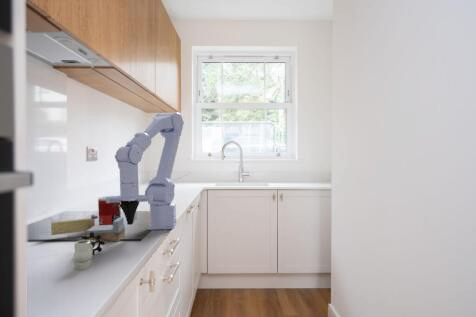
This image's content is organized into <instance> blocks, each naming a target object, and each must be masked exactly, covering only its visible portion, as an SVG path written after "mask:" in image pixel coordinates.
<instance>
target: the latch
mask: <svg viewBox="0 0 476 317" xmlns="http://www.w3.org/2000/svg"><path fill="white" fill-rule="evenodd" d="M96 219H99V214H92V215H90V217H89V218H78V219H69V220H60V221H58V220H57V221H52V222H50V228H51V229H50V230H51V232H50V233H51V236H56V235H57V236H58V235H64V234H72V233H81V232H86V231H87V230H88V229H90V228H91V227H93V226H96V223H95V220H96Z"/></svg>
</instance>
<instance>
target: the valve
mask: <svg viewBox="0 0 476 317" xmlns="http://www.w3.org/2000/svg"><path fill="white" fill-rule="evenodd" d="M89 235H90V236H88V237H87V236H86V234H83V235H82V237H81V239H82V240H77V241H76V242H75V243H74V253H73V260H74V265H75V266H74V267H75V271H85V270H88V269H90V268H91V267H92V265H93V264H92V262H93V261H92V258H93V256H94V255H95V253H96V252H95V251H97V252H98V253H101V252H102V251H103V248H102V247H101V245H102V246H104V245H106V244H105V243H106V242H105V241H104V240H102V241H101V240H100V238H101V237H102V235H101V234H98V235H97V236H95V235H94V232H90V234H89ZM89 238H95V239H97V240H96V241H93V240H92V241H90V240H88V239H89ZM96 244H98V245H97V246H96ZM95 246H96V247H95Z"/></svg>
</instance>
